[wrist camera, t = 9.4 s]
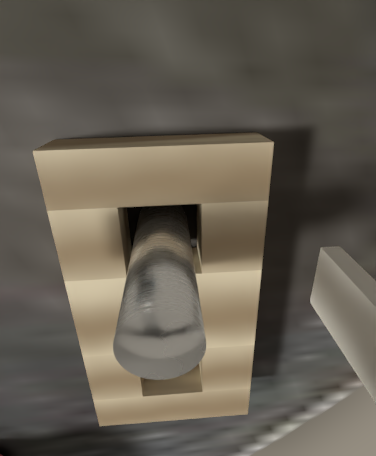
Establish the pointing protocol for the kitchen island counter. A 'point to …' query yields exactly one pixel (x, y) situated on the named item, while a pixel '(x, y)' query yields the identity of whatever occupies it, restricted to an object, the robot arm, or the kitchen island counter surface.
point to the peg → (160, 299)
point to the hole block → (202, 254)
